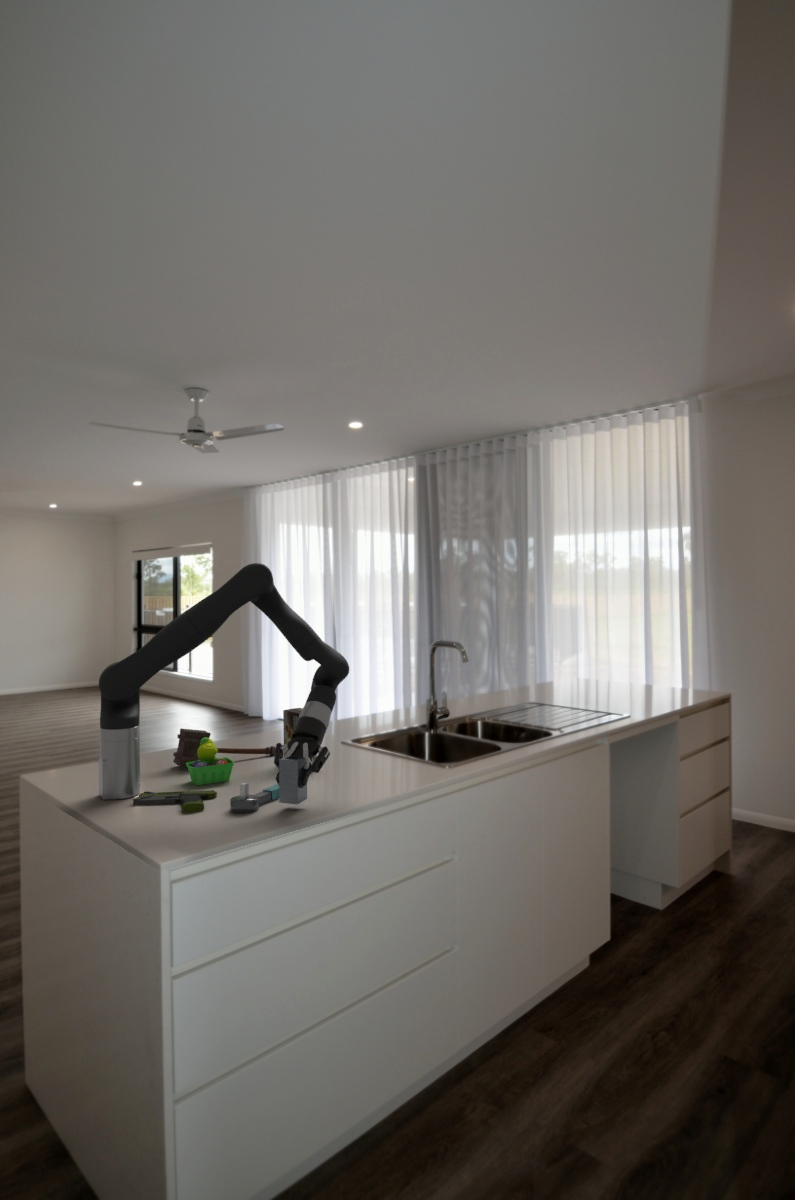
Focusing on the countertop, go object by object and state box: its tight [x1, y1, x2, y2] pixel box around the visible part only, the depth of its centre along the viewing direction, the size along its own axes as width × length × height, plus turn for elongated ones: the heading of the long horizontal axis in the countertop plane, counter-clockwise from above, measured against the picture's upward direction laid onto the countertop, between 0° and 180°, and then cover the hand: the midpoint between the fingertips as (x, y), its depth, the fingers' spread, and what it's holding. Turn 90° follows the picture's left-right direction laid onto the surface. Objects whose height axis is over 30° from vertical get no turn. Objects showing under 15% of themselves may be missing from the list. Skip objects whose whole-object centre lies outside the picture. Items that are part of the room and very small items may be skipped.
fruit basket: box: [186, 737, 235, 786], centre depth 186 cm, size 11×9×11 cm
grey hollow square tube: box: [278, 755, 308, 806], centre depth 160 cm, size 5×5×10 cm
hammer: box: [172, 728, 276, 768], centre depth 208 cm, size 7×33×10 cm, turn 123°
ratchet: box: [229, 782, 279, 815], centre depth 165 cm, size 19×6×6 cm, turn 152°
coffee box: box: [282, 707, 318, 762], centre depth 203 cm, size 9×6×16 cm
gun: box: [132, 789, 218, 814], centre depth 165 cm, size 2×19×15 cm
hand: (289, 784), depth 158 cm, fingers closed on grey hollow square tube, 4 cm apart
